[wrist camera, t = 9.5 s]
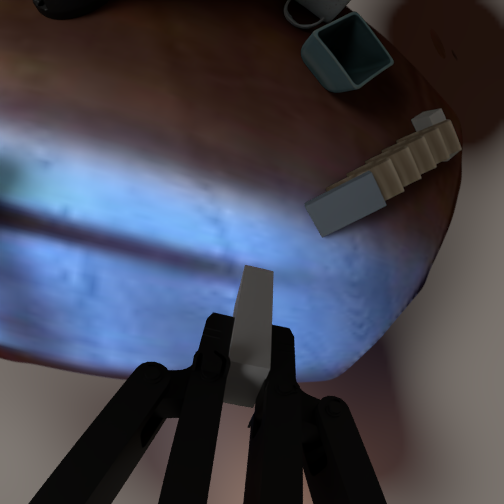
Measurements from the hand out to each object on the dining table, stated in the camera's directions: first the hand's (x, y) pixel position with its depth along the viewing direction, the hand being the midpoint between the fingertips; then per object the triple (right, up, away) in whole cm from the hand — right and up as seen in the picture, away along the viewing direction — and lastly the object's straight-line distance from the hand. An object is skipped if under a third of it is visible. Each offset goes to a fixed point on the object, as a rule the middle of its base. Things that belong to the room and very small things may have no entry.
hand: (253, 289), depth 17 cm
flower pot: (+10, +29, +23) cm, 38 cm away
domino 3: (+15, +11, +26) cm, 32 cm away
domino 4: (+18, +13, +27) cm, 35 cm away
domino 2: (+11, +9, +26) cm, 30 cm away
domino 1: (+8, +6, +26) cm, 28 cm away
